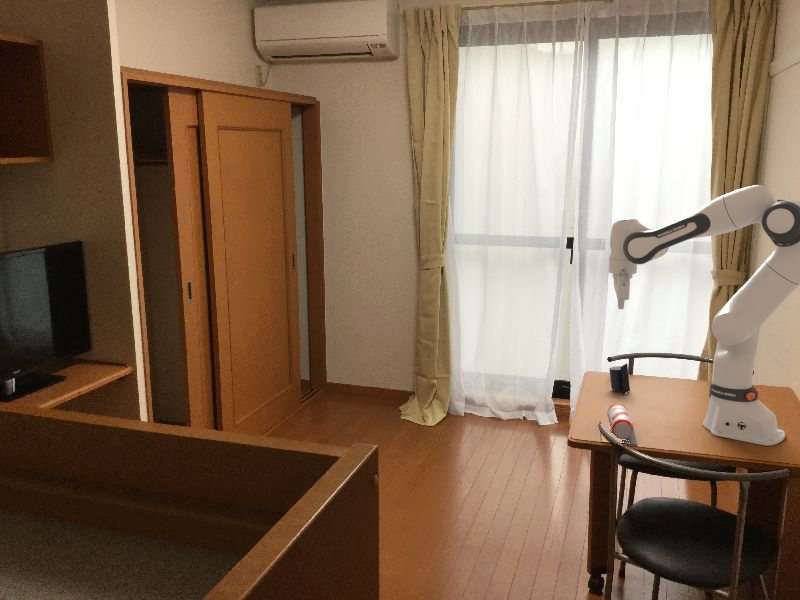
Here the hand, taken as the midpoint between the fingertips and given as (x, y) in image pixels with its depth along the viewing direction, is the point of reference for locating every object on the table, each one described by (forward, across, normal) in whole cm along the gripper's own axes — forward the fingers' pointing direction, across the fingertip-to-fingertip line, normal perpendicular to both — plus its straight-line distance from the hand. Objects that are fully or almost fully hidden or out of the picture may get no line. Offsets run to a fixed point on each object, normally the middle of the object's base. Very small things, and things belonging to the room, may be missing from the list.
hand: (620, 308), depth 230 cm
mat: (+33, -28, +1) cm, 43 cm away
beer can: (+30, -19, +1) cm, 35 cm away
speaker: (+33, +13, -2) cm, 36 cm away
